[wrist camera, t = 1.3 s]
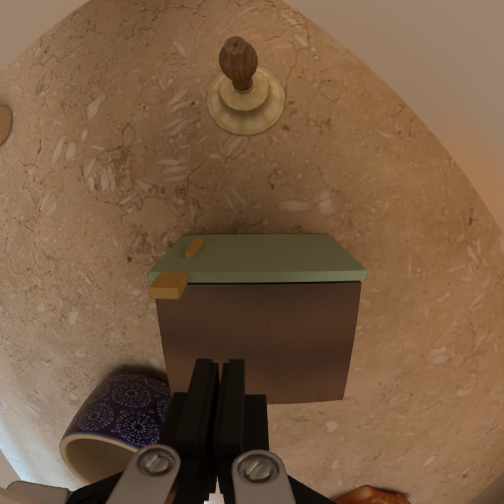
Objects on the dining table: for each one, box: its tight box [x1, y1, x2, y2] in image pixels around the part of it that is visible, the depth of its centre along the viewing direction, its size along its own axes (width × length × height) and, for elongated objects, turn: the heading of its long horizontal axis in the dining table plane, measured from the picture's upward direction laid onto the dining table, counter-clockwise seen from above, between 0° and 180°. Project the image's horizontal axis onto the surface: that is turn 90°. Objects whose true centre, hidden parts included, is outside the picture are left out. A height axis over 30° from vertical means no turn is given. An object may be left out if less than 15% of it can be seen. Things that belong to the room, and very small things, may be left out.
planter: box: [60, 374, 172, 485], centre depth 34 cm, size 17×17×15 cm
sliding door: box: [148, 234, 367, 299], centre depth 27 cm, size 1×16×16 cm, turn 91°
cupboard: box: [156, 280, 361, 404], centre depth 31 cm, size 12×16×12 cm
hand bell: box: [207, 36, 285, 136], centre depth 23 cm, size 8×8×16 cm
